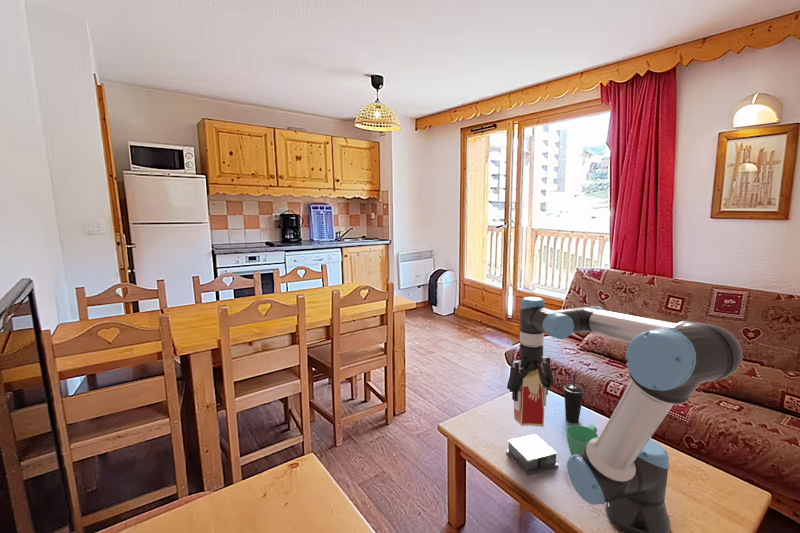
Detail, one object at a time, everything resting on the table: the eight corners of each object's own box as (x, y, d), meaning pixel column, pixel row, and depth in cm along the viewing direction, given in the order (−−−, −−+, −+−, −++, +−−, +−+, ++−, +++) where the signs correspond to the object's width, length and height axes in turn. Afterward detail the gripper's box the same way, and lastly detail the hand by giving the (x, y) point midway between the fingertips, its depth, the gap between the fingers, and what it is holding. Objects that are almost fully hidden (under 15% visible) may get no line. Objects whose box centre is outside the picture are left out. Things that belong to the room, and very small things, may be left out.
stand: (558, 467, 127) (559, 454, 126) (527, 475, 124) (528, 461, 123) (534, 446, 139) (535, 433, 138) (506, 452, 135) (506, 439, 134)
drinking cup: (557, 417, 157) (560, 371, 154) (571, 413, 160) (573, 368, 157) (573, 427, 150) (575, 379, 147) (586, 422, 153) (589, 375, 150)
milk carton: (536, 412, 135) (539, 358, 132) (545, 427, 126) (548, 369, 123) (510, 411, 136) (513, 358, 133) (517, 426, 127) (520, 369, 124)
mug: (589, 473, 124) (590, 445, 123) (559, 459, 131) (561, 432, 130) (606, 454, 134) (608, 428, 132) (578, 441, 141) (580, 416, 139)
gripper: (551, 336, 134) (549, 396, 137) (496, 344, 127) (495, 407, 130) (566, 342, 127) (564, 406, 130) (509, 351, 120) (508, 418, 123)
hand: (529, 406), depth 130 cm, fingers closed on milk carton, 9 cm apart
